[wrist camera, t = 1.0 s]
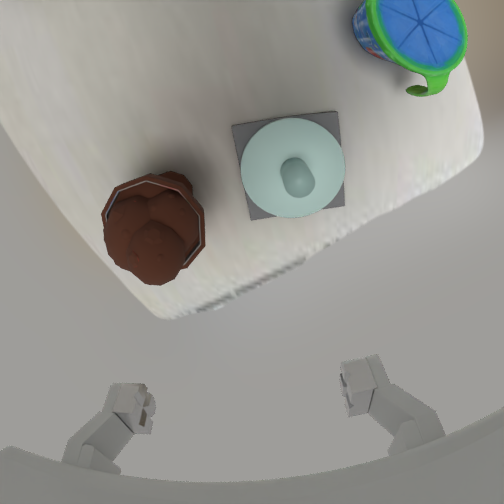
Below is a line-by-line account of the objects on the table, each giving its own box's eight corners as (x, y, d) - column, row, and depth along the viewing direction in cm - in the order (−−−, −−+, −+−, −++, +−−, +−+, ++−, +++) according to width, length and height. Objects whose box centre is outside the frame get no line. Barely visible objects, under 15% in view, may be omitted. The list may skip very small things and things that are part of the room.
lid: (231, 126, 32) (229, 136, 27) (337, 112, 31) (352, 119, 26) (251, 220, 38) (251, 242, 34) (344, 206, 37) (357, 225, 33)
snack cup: (319, -25, 22) (346, -55, 13) (400, -26, 20) (444, -44, 12) (354, 96, 30) (393, 108, 22) (428, 87, 29) (479, 100, 20)
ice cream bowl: (213, 148, 34) (193, 201, 21) (214, 231, 40) (201, 314, 27) (127, 150, 33) (67, 203, 21) (137, 230, 39) (97, 306, 27)
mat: (231, 125, 32) (231, 126, 32) (335, 111, 31) (337, 112, 31) (250, 217, 39) (251, 220, 38) (342, 203, 38) (344, 206, 37)
